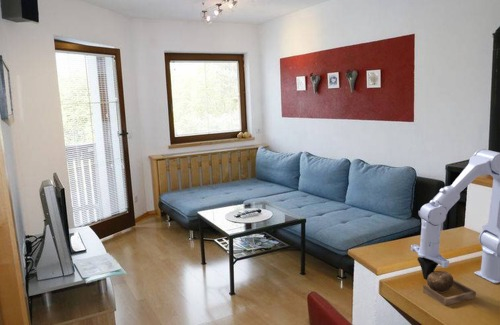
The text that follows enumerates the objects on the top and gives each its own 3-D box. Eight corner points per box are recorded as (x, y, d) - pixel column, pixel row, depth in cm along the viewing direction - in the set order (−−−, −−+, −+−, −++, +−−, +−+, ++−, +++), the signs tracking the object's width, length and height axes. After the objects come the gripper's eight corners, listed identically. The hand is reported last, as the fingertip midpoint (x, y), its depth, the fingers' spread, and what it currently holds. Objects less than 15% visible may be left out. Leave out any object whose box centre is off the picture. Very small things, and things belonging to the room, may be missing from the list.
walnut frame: (451, 284, 130) (452, 278, 130) (475, 297, 122) (476, 291, 121) (423, 291, 126) (423, 285, 125) (445, 305, 118) (445, 299, 117)
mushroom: (453, 274, 130) (446, 262, 127) (461, 294, 123) (454, 282, 121) (428, 281, 133) (421, 270, 130) (435, 301, 126) (428, 290, 124)
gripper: (404, 234, 135) (402, 271, 137) (437, 250, 121) (434, 291, 124) (421, 231, 137) (418, 267, 140) (455, 247, 124) (451, 286, 126)
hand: (427, 278), depth 132 cm, fingers closed
